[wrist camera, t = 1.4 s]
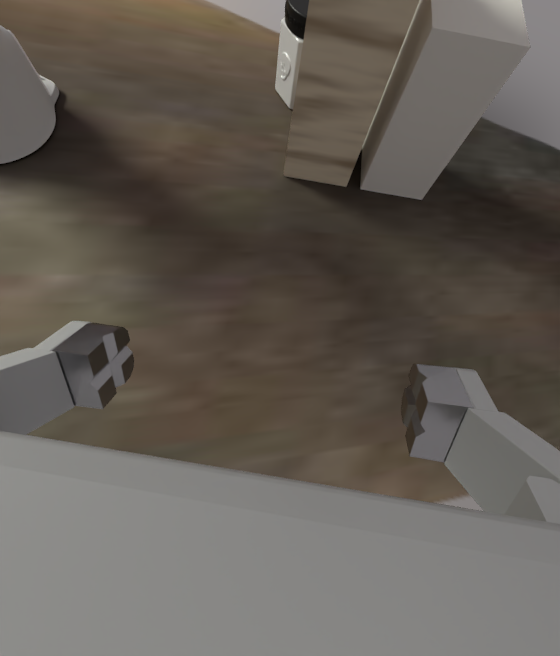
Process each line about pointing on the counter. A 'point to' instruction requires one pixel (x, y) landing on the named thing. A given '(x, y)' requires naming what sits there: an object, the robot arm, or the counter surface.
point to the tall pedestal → (342, 83)
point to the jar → (290, 49)
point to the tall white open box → (440, 90)
